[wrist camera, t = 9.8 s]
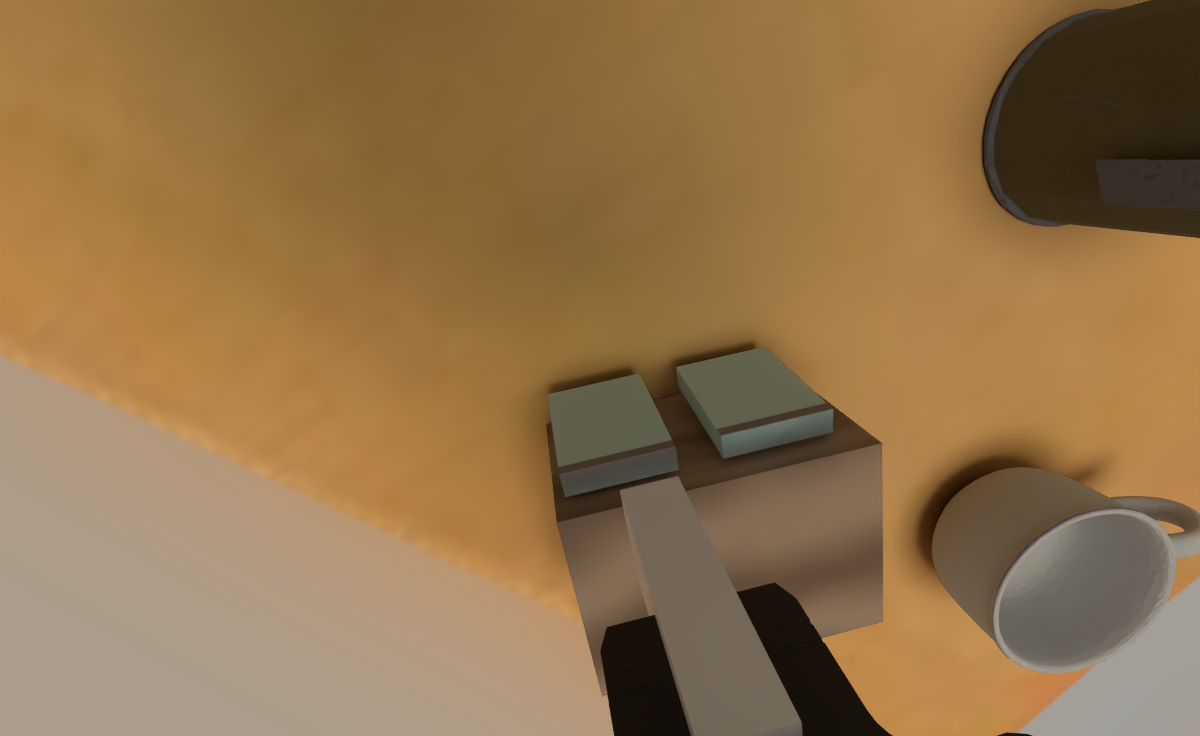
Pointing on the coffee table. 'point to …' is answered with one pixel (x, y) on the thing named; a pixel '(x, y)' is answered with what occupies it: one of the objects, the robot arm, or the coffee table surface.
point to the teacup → (1059, 565)
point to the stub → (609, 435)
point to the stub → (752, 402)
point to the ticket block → (744, 525)
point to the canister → (1103, 122)
